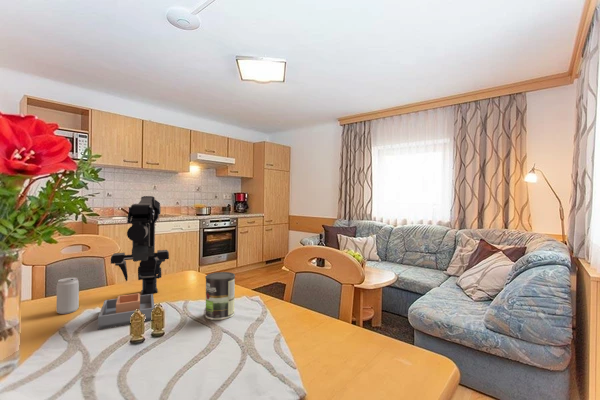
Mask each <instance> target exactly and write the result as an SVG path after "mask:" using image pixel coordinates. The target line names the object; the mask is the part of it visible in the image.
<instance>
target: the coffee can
mask: <svg viewBox="0 0 600 400" xmlns="http://www.w3.org/2000/svg"><path fill="white" fill-rule="evenodd" d="M204 277H205V318H206V319H208V320H212V321H223V320H226V319H230V318H232V317H233V316H234V315H235V313H236V312H235V298H236V297H235V287H236V286H235V285H236V284H235V281H236V279H235V278H236V274H235V273H234V272H228V271H221V272H213V273H212V272H211V273H209V274H206V275H205V276H204Z"/></svg>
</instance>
